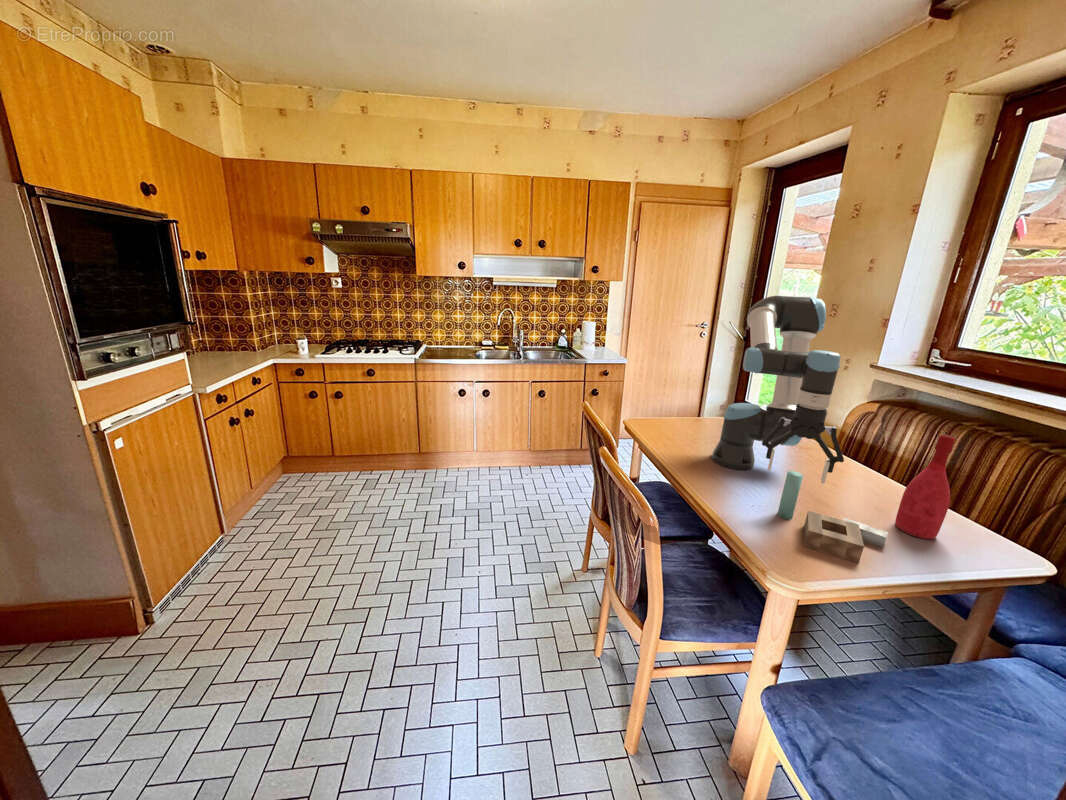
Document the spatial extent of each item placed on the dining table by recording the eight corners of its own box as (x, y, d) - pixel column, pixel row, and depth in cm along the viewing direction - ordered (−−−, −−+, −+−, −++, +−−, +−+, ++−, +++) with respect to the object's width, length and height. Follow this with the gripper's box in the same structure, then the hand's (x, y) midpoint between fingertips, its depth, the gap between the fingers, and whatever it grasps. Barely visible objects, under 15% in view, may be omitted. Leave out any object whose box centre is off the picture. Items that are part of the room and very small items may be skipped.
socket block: (804, 546, 115) (808, 530, 113) (804, 525, 125) (808, 510, 123) (858, 563, 109) (864, 546, 107) (854, 540, 119) (858, 524, 117)
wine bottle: (884, 521, 129) (914, 428, 121) (914, 521, 130) (946, 429, 121) (915, 541, 120) (950, 442, 111) (946, 540, 121) (983, 442, 112)
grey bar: (839, 533, 122) (842, 522, 121) (841, 528, 125) (844, 517, 124) (882, 549, 116) (886, 537, 115) (884, 543, 118) (888, 532, 117)
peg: (777, 516, 129) (787, 474, 125) (777, 510, 132) (787, 469, 128) (792, 521, 127) (803, 478, 123) (792, 515, 130) (803, 473, 126)
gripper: (761, 400, 122) (747, 468, 128) (868, 418, 110) (847, 492, 116) (763, 395, 129) (749, 460, 134) (865, 412, 116) (845, 482, 122)
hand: (795, 475), depth 125 cm, fingers open, 13 cm apart
